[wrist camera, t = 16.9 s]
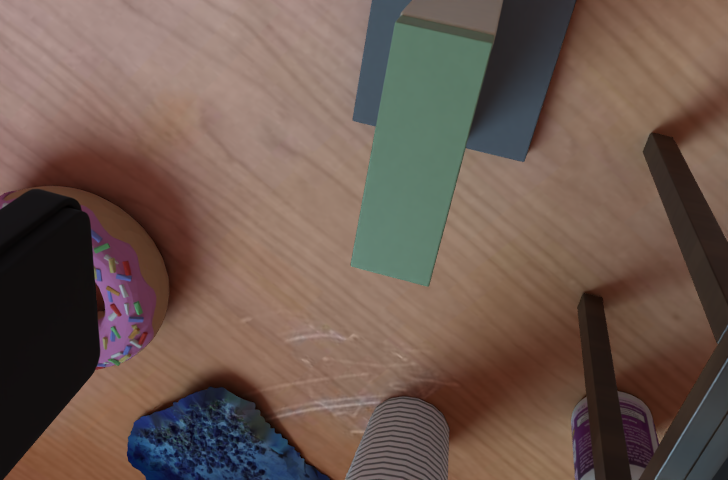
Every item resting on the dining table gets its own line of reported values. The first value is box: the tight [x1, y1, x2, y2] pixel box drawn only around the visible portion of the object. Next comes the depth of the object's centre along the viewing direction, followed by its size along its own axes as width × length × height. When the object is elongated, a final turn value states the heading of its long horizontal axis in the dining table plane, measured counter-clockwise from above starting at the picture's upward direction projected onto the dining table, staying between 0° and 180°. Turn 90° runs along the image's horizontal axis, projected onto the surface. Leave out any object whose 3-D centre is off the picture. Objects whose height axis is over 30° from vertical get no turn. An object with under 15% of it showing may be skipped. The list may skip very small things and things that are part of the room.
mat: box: [353, 0, 576, 162], centre depth 35 cm, size 10×10×1 cm
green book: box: [351, 0, 503, 286], centre depth 28 cm, size 9×3×15 cm, turn 170°
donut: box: [0, 186, 169, 370], centre depth 47 cm, size 14×14×5 cm
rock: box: [127, 387, 330, 480], centre depth 56 cm, size 15×17×2 cm
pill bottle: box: [571, 391, 659, 480], centre depth 41 cm, size 5×5×10 cm
